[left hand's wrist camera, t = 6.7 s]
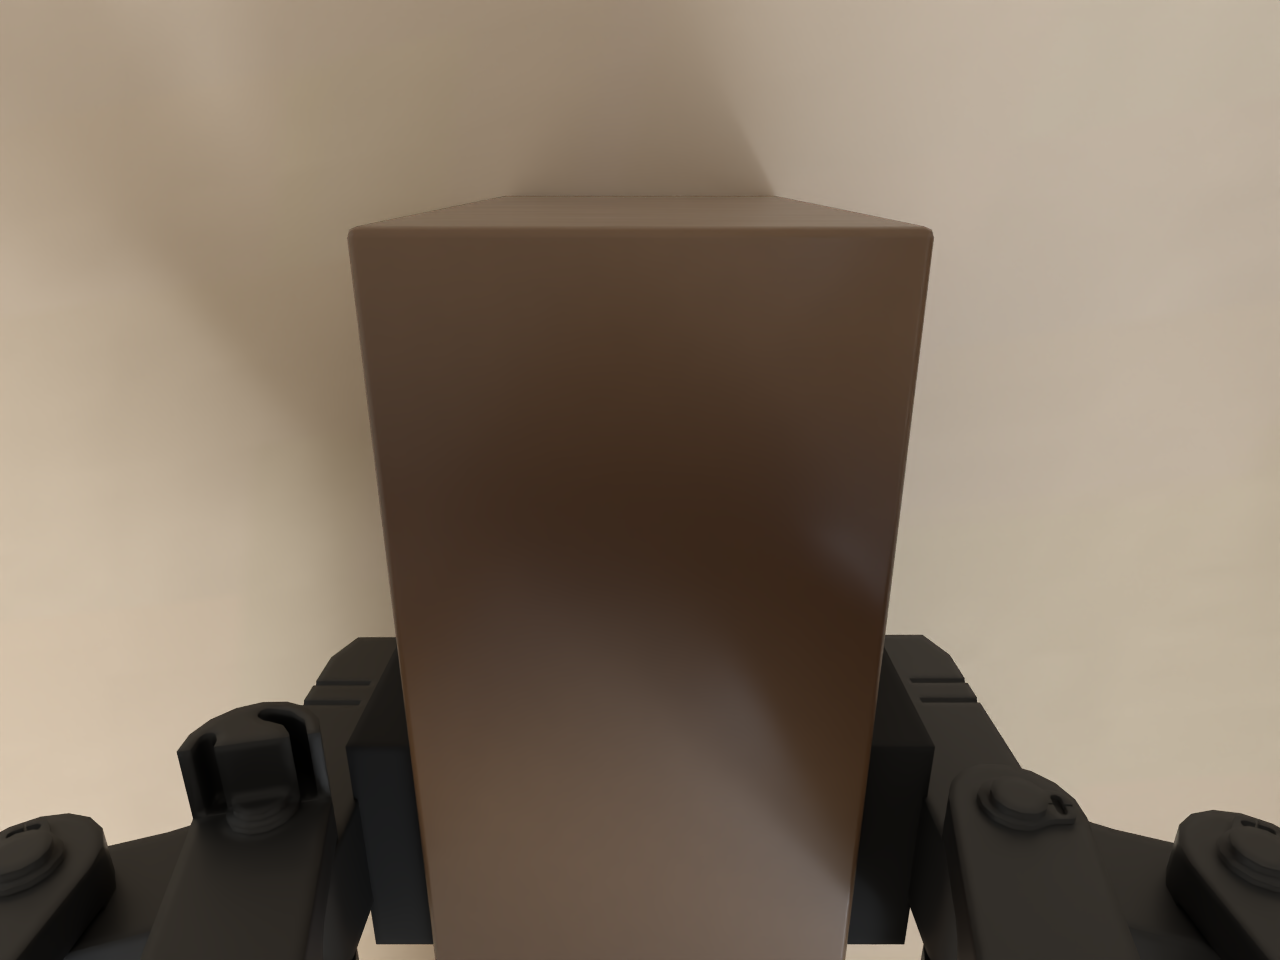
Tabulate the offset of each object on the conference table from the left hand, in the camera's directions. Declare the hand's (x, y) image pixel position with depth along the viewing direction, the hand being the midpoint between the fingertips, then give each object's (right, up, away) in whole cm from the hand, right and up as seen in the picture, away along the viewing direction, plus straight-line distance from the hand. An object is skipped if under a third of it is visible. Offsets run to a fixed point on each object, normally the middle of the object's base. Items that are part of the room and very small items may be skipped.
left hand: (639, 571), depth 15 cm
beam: (0, -26, +11) cm, 29 cm away
